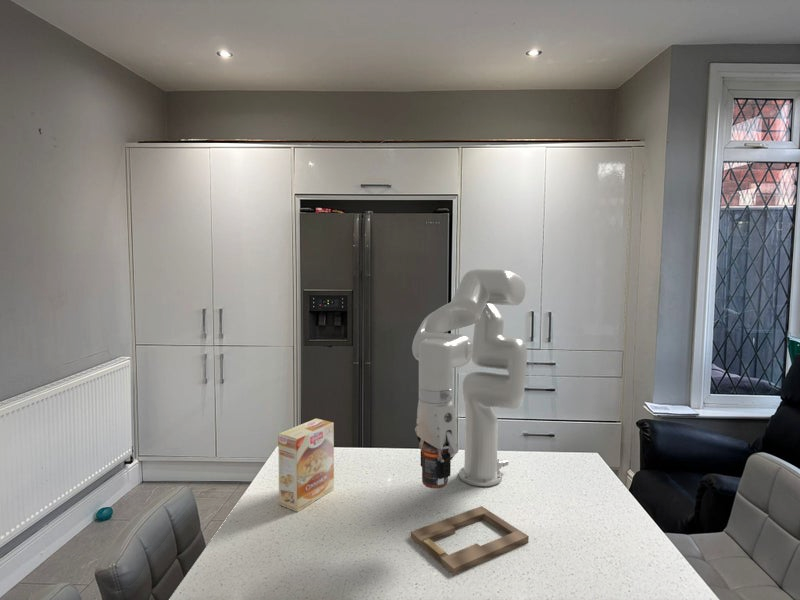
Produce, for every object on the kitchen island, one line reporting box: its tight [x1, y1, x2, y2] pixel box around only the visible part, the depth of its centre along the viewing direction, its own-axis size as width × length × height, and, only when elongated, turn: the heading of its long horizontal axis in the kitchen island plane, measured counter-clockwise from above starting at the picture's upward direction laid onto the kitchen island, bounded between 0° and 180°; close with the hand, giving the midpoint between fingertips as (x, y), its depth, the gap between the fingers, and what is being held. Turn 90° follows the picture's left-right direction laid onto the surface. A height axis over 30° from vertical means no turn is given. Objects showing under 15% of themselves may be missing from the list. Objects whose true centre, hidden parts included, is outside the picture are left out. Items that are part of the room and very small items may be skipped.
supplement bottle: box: [421, 443, 449, 490], centre depth 112 cm, size 6×6×11 cm
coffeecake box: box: [277, 418, 335, 513], centre depth 134 cm, size 15×7×20 cm, turn 148°
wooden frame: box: [410, 505, 529, 576], centre depth 114 cm, size 22×16×2 cm
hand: (435, 470), depth 113 cm, fingers closed on supplement bottle, 6 cm apart
